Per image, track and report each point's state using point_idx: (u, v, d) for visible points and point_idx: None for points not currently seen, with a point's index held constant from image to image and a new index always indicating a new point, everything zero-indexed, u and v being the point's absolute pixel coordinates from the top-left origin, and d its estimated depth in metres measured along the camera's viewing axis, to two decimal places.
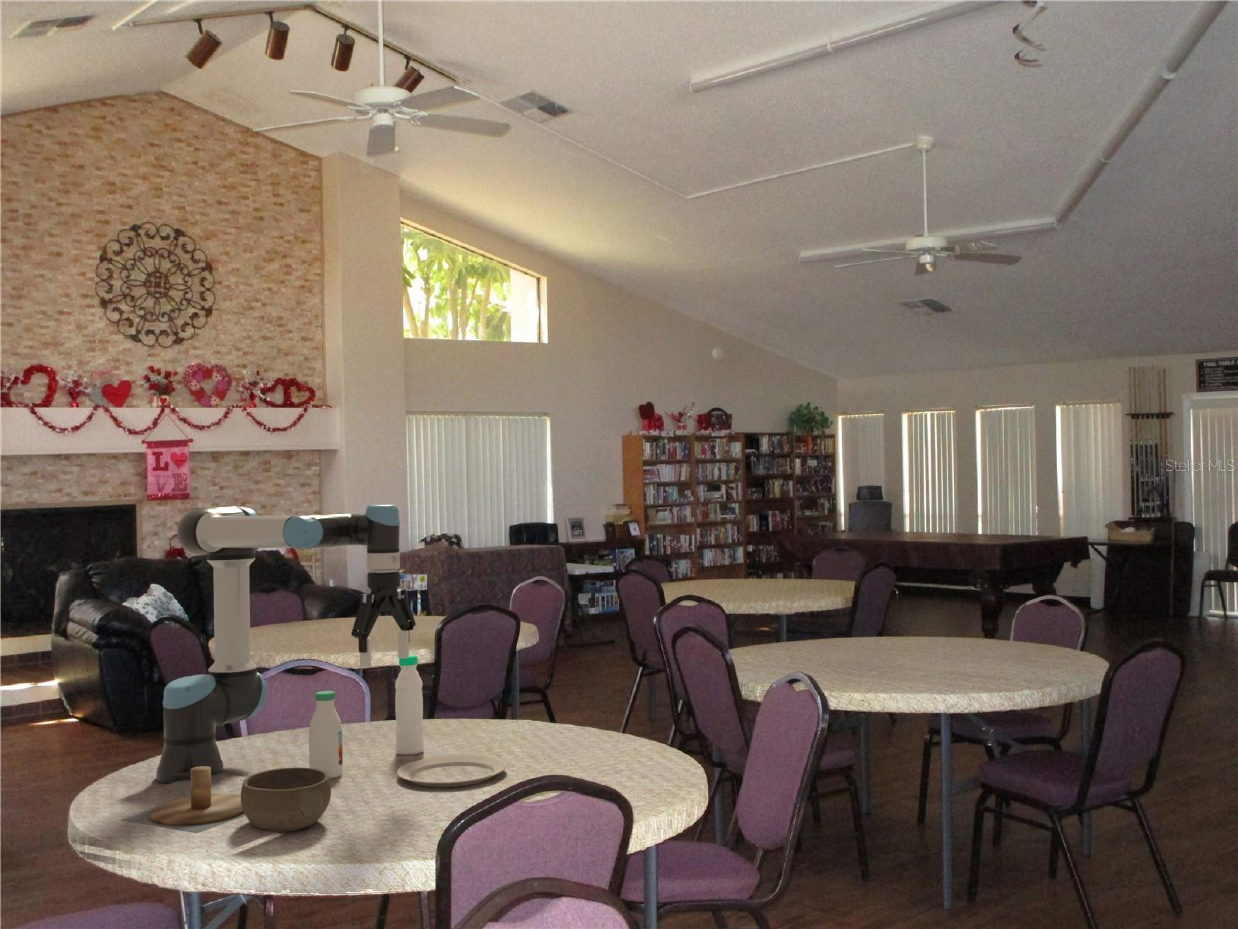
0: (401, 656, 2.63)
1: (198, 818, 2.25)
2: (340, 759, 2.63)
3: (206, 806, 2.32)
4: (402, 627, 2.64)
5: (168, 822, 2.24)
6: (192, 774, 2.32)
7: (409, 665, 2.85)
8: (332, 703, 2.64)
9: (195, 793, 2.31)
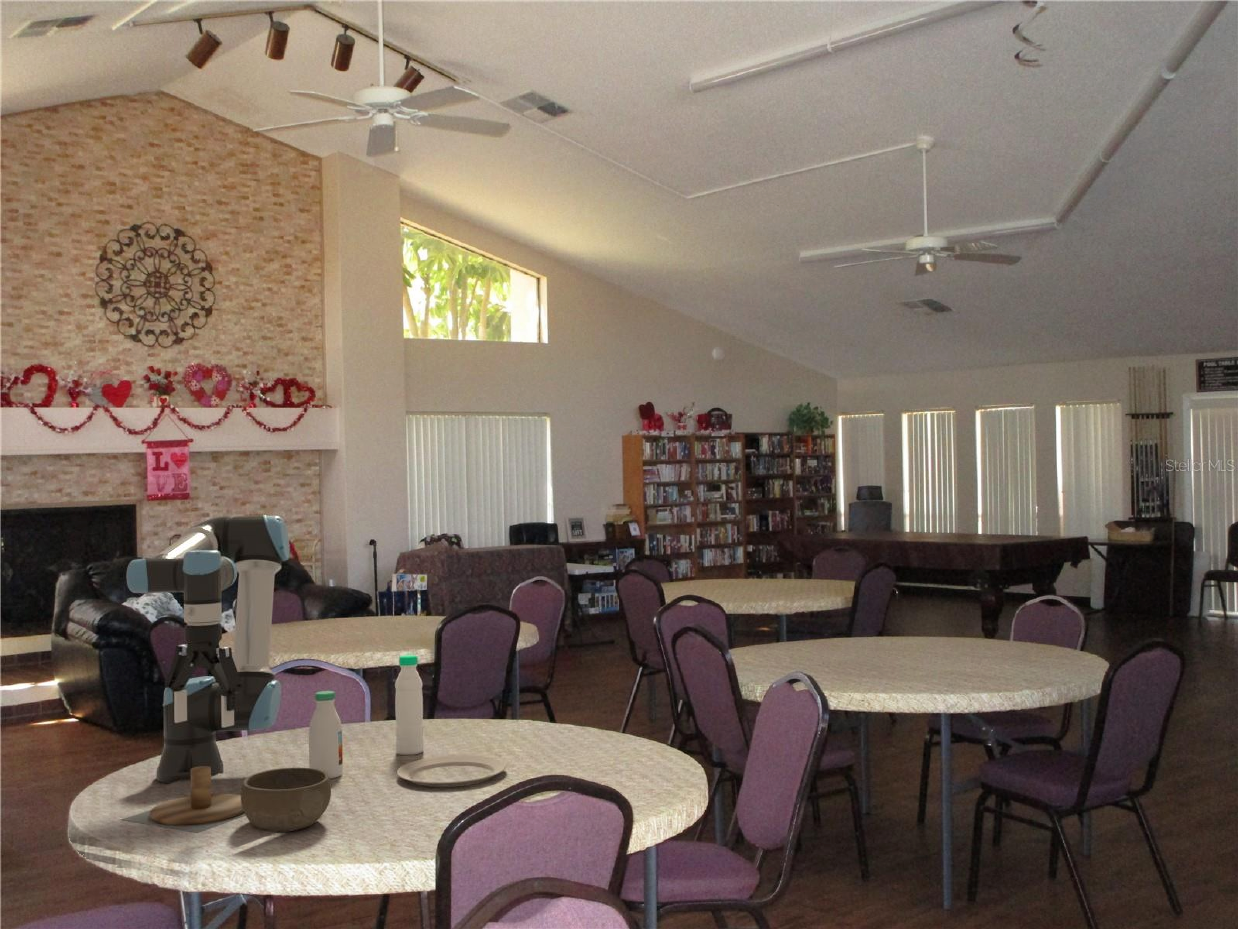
0: None
1: (198, 818, 2.25)
2: (340, 759, 2.63)
3: (206, 806, 2.32)
4: None
5: (168, 822, 2.24)
6: (192, 774, 2.32)
7: (409, 665, 2.85)
8: (332, 703, 2.64)
9: (195, 792, 2.31)
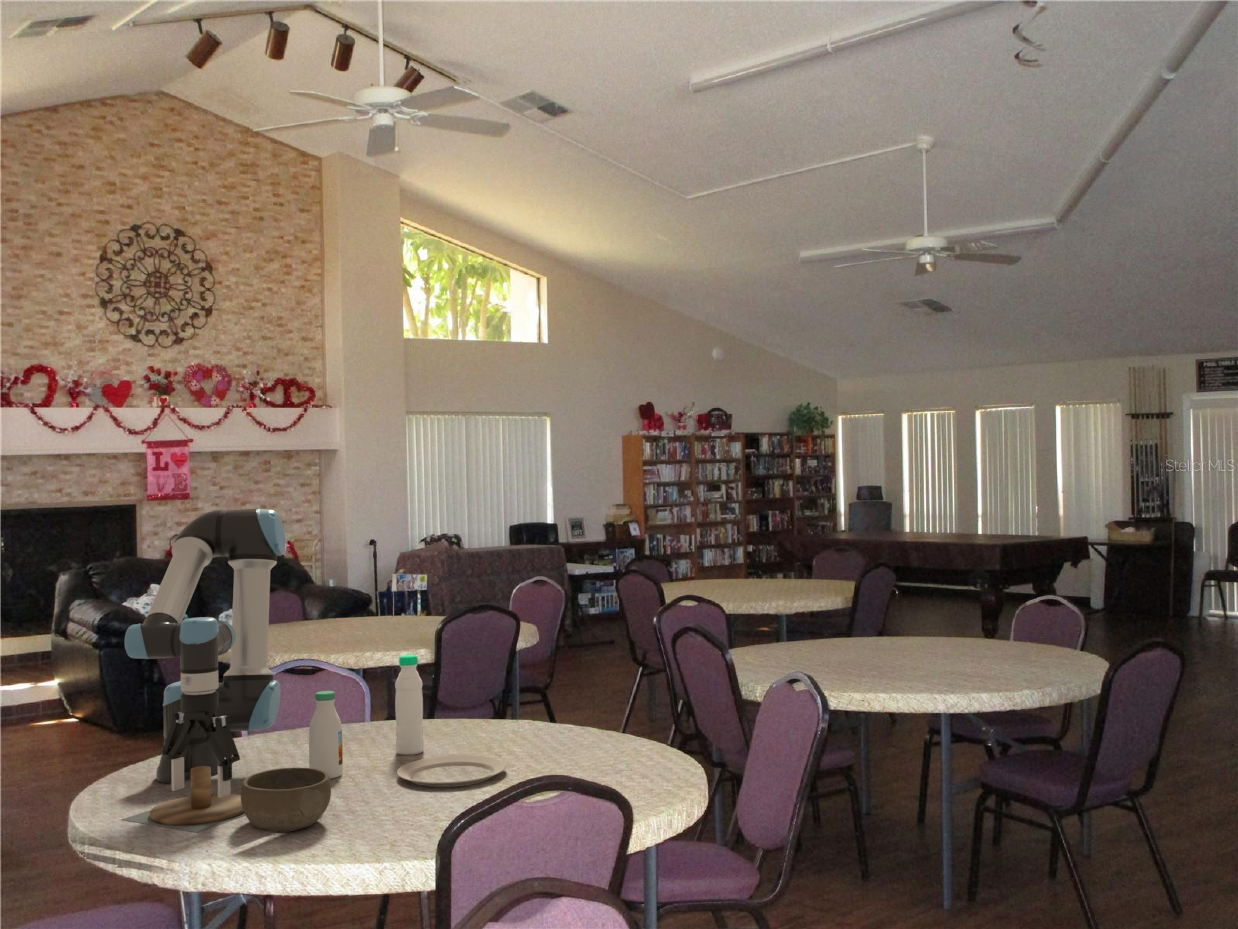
0: None
1: (198, 818, 2.25)
2: (340, 759, 2.63)
3: (206, 806, 2.32)
4: None
5: (168, 822, 2.24)
6: (192, 774, 2.32)
7: (409, 665, 2.85)
8: (332, 703, 2.64)
9: (195, 792, 2.31)
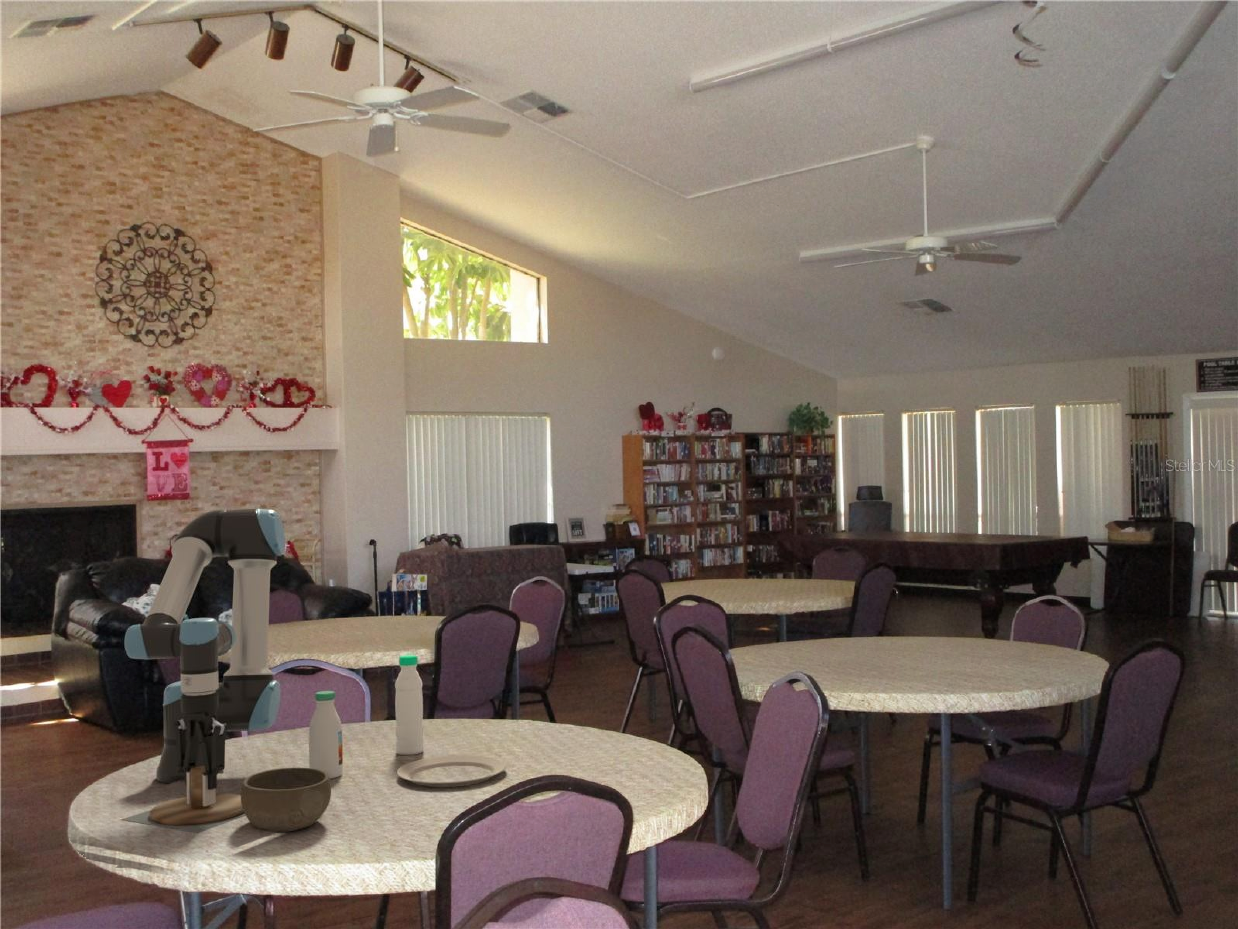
0: None
1: (198, 818, 2.25)
2: (340, 759, 2.63)
3: (206, 806, 2.32)
4: None
5: (168, 822, 2.24)
6: (192, 774, 2.32)
7: (409, 665, 2.85)
8: (332, 703, 2.64)
9: (195, 792, 2.31)
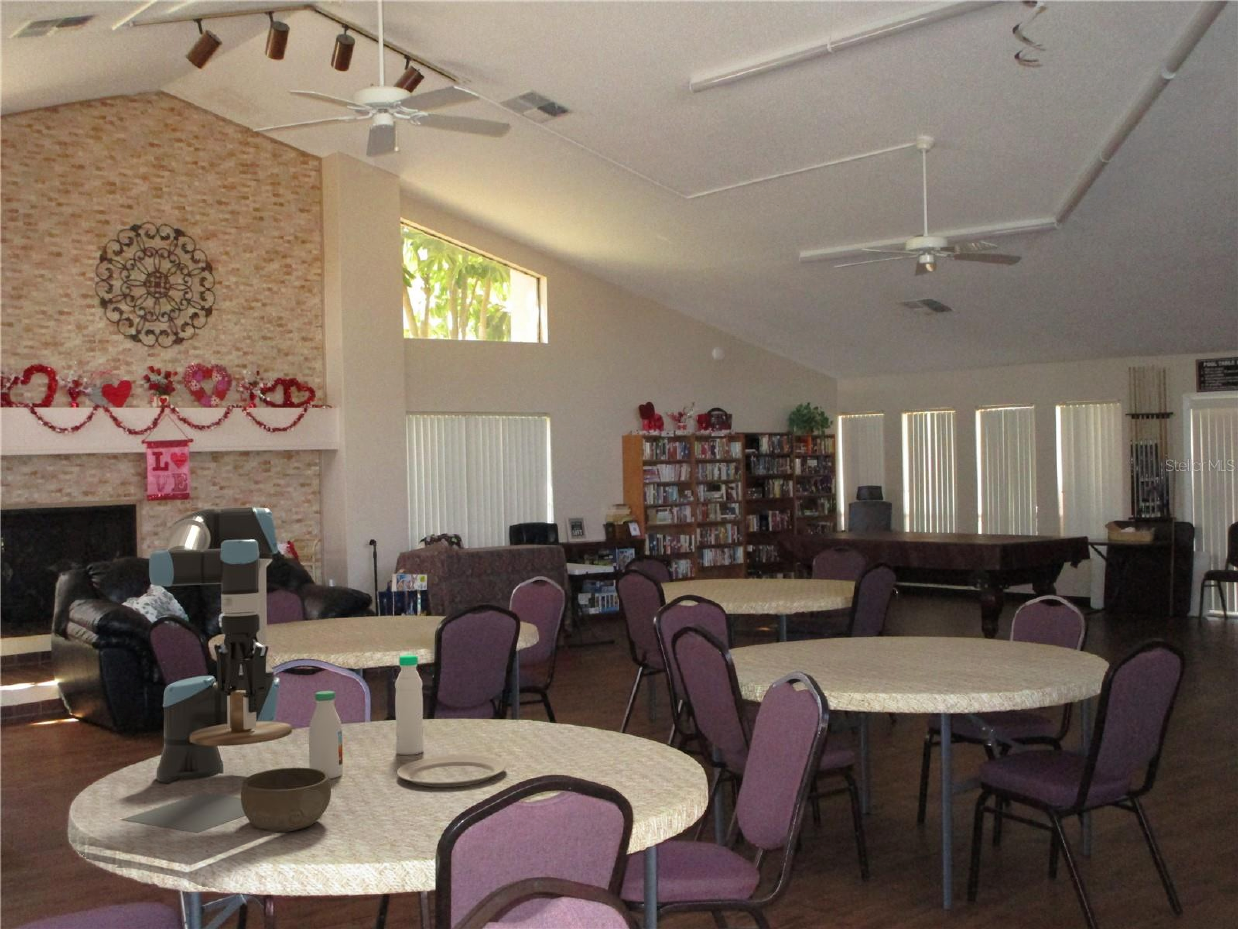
0: None
1: (238, 738, 2.20)
2: (340, 759, 2.63)
3: (246, 730, 2.27)
4: None
5: (208, 742, 2.19)
6: (232, 697, 2.27)
7: (409, 665, 2.85)
8: (332, 703, 2.64)
9: (235, 715, 2.27)
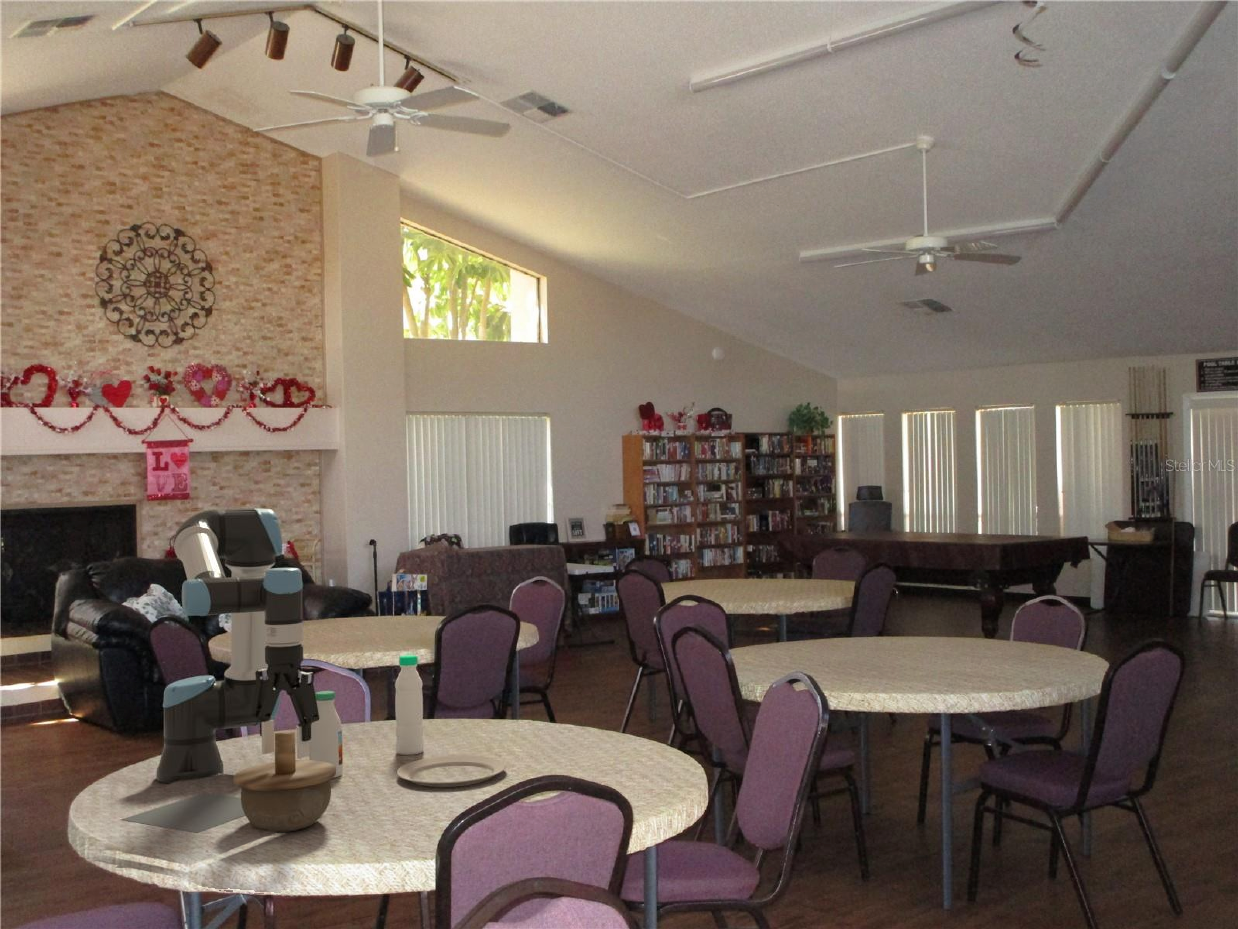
0: None
1: (285, 783, 2.16)
2: (340, 759, 2.63)
3: (291, 771, 2.24)
4: None
5: (254, 787, 2.16)
6: (276, 738, 2.24)
7: (409, 665, 2.85)
8: (332, 703, 2.64)
9: (279, 757, 2.23)
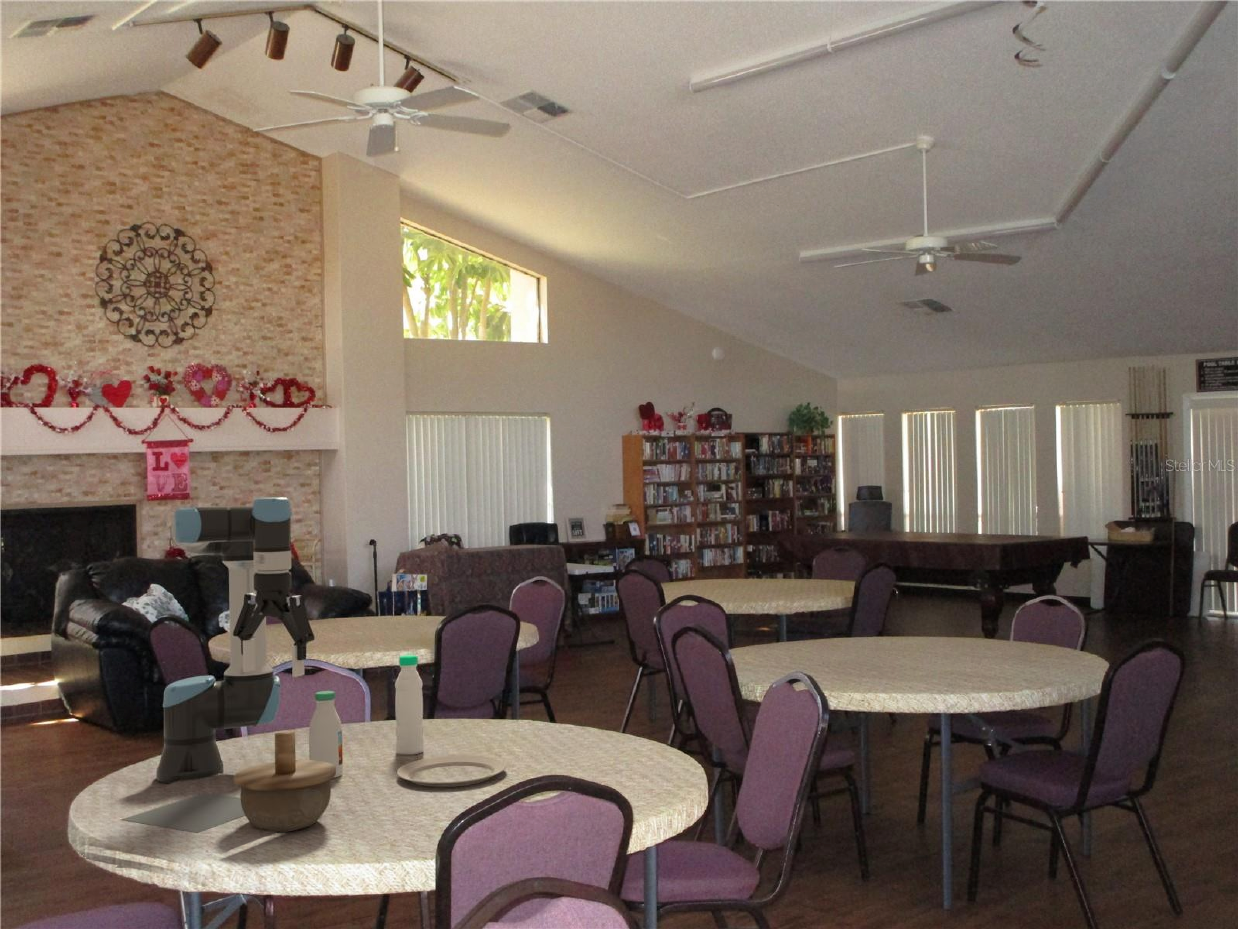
0: None
1: (286, 783, 2.17)
2: (340, 759, 2.63)
3: (291, 771, 2.24)
4: None
5: (255, 787, 2.16)
6: (277, 738, 2.24)
7: (409, 665, 2.85)
8: (332, 703, 2.64)
9: (279, 757, 2.23)
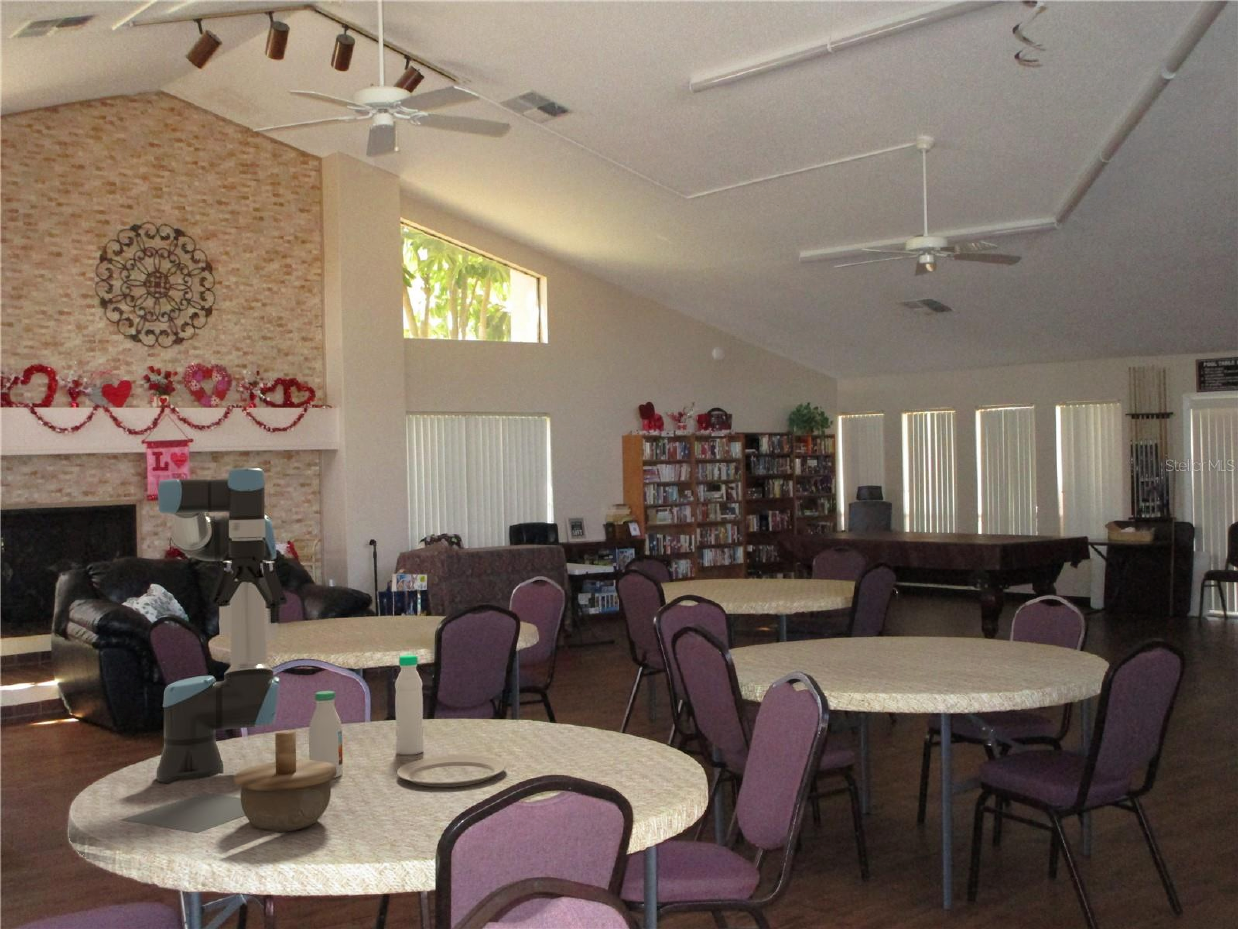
0: None
1: (286, 782, 2.17)
2: (340, 759, 2.63)
3: (292, 771, 2.24)
4: None
5: (256, 787, 2.16)
6: (277, 738, 2.24)
7: (409, 665, 2.85)
8: (332, 703, 2.64)
9: (280, 757, 2.23)
